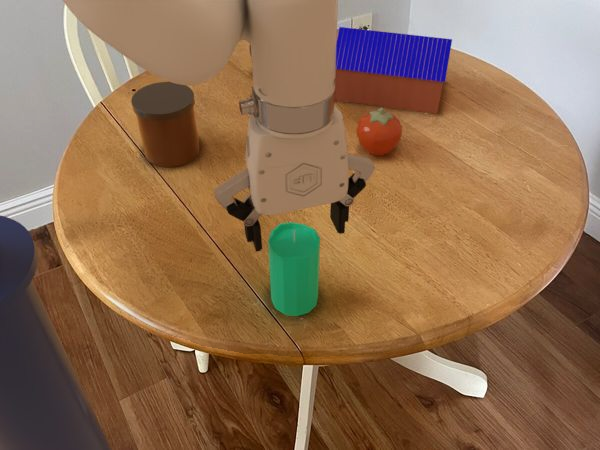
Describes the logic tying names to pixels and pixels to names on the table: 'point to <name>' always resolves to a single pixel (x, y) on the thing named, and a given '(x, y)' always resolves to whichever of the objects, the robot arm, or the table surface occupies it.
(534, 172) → the table surface
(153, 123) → the jar
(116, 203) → the table surface
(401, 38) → the house
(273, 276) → the candle
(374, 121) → the tomato
